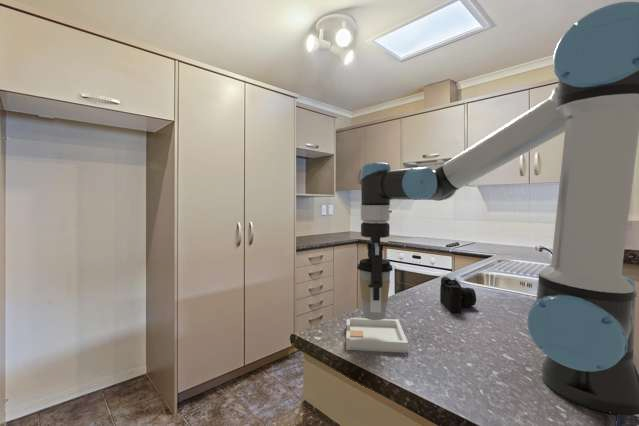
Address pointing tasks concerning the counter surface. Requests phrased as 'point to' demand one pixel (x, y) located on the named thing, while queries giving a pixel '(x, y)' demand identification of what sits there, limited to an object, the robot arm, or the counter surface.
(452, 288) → the camera
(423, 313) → the counter surface
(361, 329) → the tray
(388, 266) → the coffee cup
